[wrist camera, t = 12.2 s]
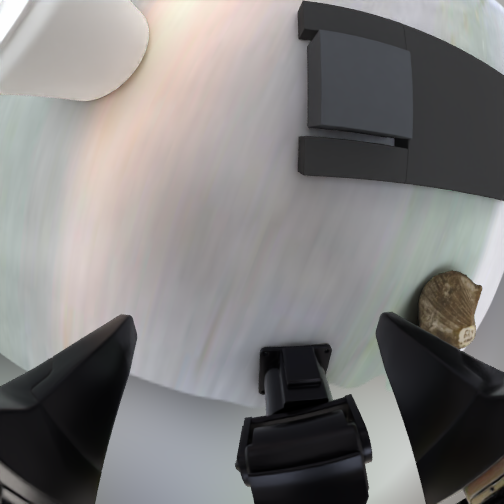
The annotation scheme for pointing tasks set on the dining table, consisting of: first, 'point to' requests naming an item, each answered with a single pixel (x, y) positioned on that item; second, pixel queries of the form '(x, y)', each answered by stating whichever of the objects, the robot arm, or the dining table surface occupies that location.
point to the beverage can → (69, 47)
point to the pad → (359, 86)
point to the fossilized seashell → (449, 308)
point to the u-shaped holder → (419, 113)
